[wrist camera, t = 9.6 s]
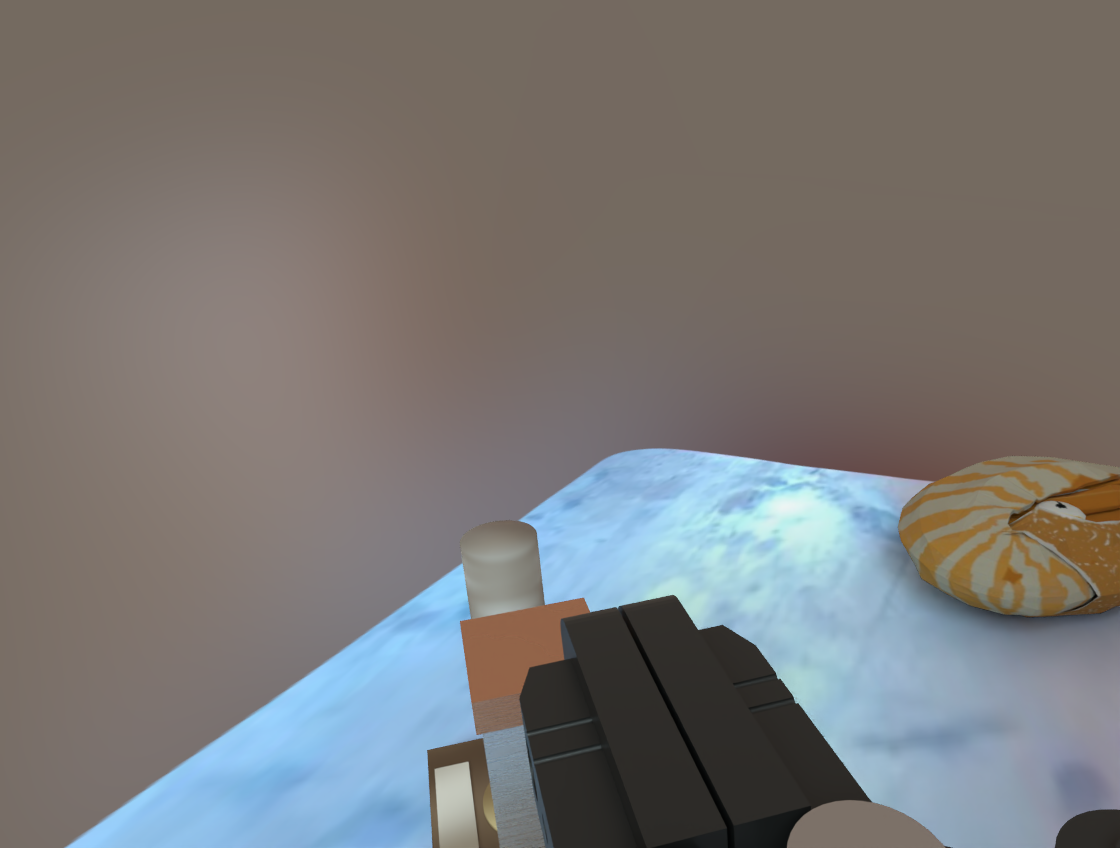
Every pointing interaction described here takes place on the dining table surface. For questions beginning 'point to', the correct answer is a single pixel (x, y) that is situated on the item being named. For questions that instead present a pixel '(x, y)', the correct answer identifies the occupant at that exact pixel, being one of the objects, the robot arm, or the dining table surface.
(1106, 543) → the nautilus
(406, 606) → the dining table surface
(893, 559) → the dining table surface
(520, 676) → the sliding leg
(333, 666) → the dining table surface
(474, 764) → the wooden base plate
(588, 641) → the robot arm
